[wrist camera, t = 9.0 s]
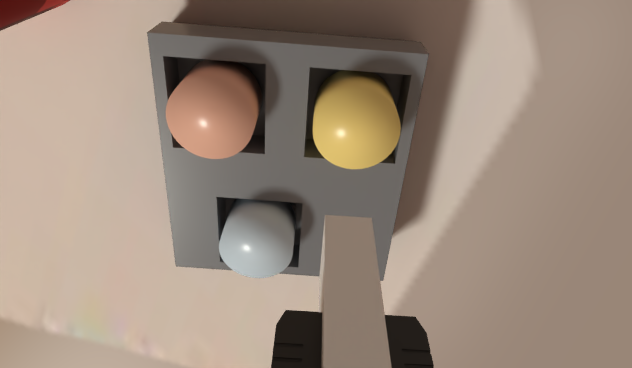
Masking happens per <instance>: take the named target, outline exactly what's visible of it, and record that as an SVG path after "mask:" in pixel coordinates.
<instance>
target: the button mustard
mask: <svg viewBox="0 0 632 368" xmlns="http://www.w3.org/2000/svg"><path fill="white" fill-rule="evenodd" d="M400 130H401V126H400V119H399V116H398V113H397V109H396V106H395V103H394V100H393V97H392V94H391V91H390V89H389V87H388V85H387V84H386V82H385V81H384V80H383V79H382V78H381V77H380V76H378V75H377V74H375V73H373V72H364V71H351V70H341V71H339V72H336V73H335V74H333V75H331V76H330V77H329V78H327V79H326V80H325V81H324V82H323V84H322V85H321V86H320V88H319V90H318V92H317V94H316V98H315V103H314V117H313V139H314V142H315V145H316V147H317V149H318V150H319V152H320V153H321V154H322V156H323V157H324V158H325V159H327V160H328V161H329V162H331V163H333V164H334V165H336V166H339V167H342V168H346V169H364V168H368V167H371V166H374V165H376V164H378V163H380V162H381V161H383V160H384V159H386V158H387V157H388V156H389V155H390V154H391V153H392V151H393V150H394V148H395V147H396V145H397V143H398V140H399V137H400Z"/></svg>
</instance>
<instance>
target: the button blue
mask: <svg viewBox="0 0 632 368" xmlns="http://www.w3.org/2000/svg"><path fill="white" fill-rule="evenodd" d="M295 227H296V215H295V211H294V209H293V207H292V206H291V204H290V203H289V202H281V201H267V200H253V199H240V198H237V199H236V200H235V201H234V202H233V204H232V205H231V208H230V210H229V213H228V216H227V220H226V223H225V226H224V229H223V232H222V235H221V238H220V242H219V252H220V255H221V257H222V259H223V261H224V262H225V264H226V265H227V266H228V267H229V268H231V269H232V270H233V271H235V272H237V273H239V274H241V275H244V276H247V277H252V278H266V277H271V276H274V275H276V274H278V273H280V272H282V271H283V270H284V269H285V268H286V267H287V266H288V265H289V264H290V262H291V259H292V255H293V246H294V237H295Z"/></svg>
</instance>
